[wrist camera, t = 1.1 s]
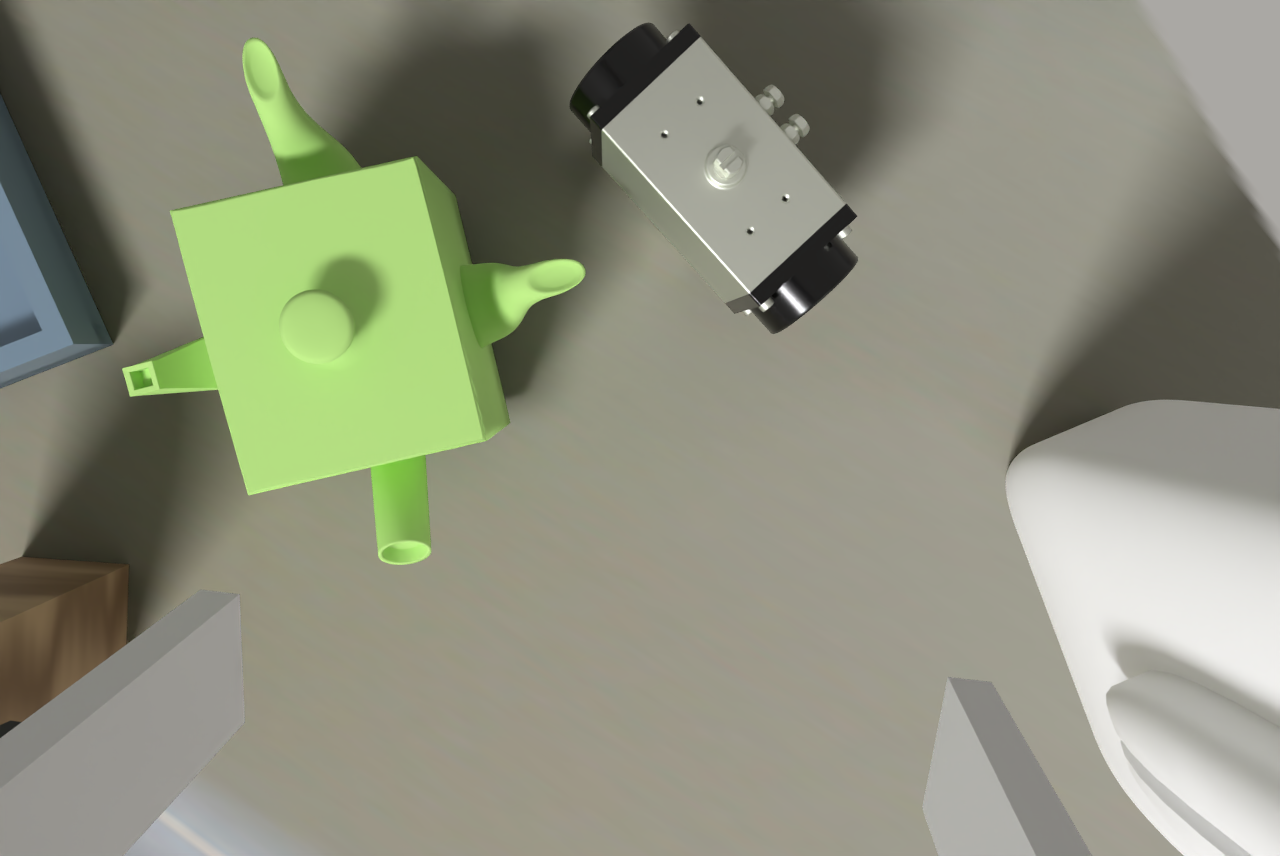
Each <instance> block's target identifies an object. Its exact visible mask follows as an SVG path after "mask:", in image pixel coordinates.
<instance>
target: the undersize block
mask: <svg viewBox="0 0 1280 856" xmlns="http://www.w3.org/2000/svg"><path fill="white" fill-rule="evenodd" d="M128 582H129V564H116V563H102V562H88V561H74V560H60V559H46V558H32V557H20V558H17V559H14V560H11V561H9V562H6V563H3V564H0V725H2V724H4V723H6V722H8V721H10V720H11V721H18V722H23V721H24V720H25V719H27V718H28V717H30V716H31V715H32V714H34V713H35V712H36V711H38V710H39V709H40V708H42V707H43V706H44V705H46V704H47V703H48V702H50V701H51V700H52V699H54V698H55V697H56V696H58V695H59V694H61V693H62V692H63V691H65V690H66V689H67V688H69V687H70V686H71V685H73V684H74V683H75V682H77V681H78V680H79V679H81V678H82V677H83V676H85V675H86V674H87V673H89V672H90V671H92V670H93V669H94V668H96V667H97V666H98V665H100V664H101V663H102V662H104V661H105V660H106V659H108V658H109V657H110V656H112V655H113V654H114V653H116V652H117V651H118V650H120V649H121V648H123V647H124V646H125V645H126V643H127V613H128Z"/></svg>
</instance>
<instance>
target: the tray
mask: <svg viewBox="0 0 1280 856" xmlns="http://www.w3.org/2000/svg"><path fill="white" fill-rule="evenodd" d="M111 345H113V343H112V341H111V338H110V336H109V334H108V332H107V329H106V327H105V325H104V323H103V321H102V318H101V316H100V314H99V312H98V309H97V307H96V305H95V303H94V301H93V298H92V296H91V294H90V292H89V290H88V287H87V285H86V283H85V281H84V278H83V276H82V274H81V272H80V270H79V267H78V265H77V263H76V261H75V258H74V256H73V254H72V252H71V250H70V247H69V245H68V243H67V241H66V238H65V236H64V234H63V232H62V230H61V227H60V225H59V223H58V221H57V218H56V216H55V214H54V212H53V210H52V207H51V205H50V203H49V201H48V198H47V196H46V194H45V192H44V190H43V187H42V185H41V183H40V181H39V178H38V176H37V174H36V172H35V170H34V167H33V165H32V163H31V161H30V158H29V156H28V154H27V152H26V150H25V147H24V145H23V143H22V141H21V138H20V136H19V134H18V132H17V130H16V127H15V125H14V123H13V121H12V118H11V116H10V114H9V112H8V110H7V107H6V105H5V103H4V101H3V98H2V96H1V94H0V388H3V387H5V386H8V385H10V384H13V383H15V382H18V381H21V380H23V379H26V378H28V377H31V376H33V375H36V374H39V373H41V372H44V371H46V370H49V369H51V368H54V367H57V366H59V365H62V364H64V363H67V362H69V361H72V360H75V359H77V358H80V357H82V356H85V355H87V354H90V353H93V352H95V351H98V350H100V349H103V348H105V347H108V346H111Z"/></svg>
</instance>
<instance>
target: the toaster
mask: <svg viewBox="0 0 1280 856" xmlns="http://www.w3.org/2000/svg"><path fill="white" fill-rule="evenodd" d="M1006 495H1007V500H1008V504H1009V508H1010V512H1011V515H1012V518H1013V521H1014V524H1015V527H1016V530H1017V532H1018V535H1019V538H1020V540H1021V543H1022V545H1023V548H1024V551H1025V553H1026V556H1027V559H1028V561H1029V564H1030V567H1031V569H1032V572H1033V575H1034V577H1035V580H1036V583H1037V585H1038V588H1039V591H1040V593H1041V596H1042V599H1043V601H1044V604H1045V607H1046V609H1047V612H1048V615H1049V617H1050V620H1051V622H1052V625H1053V628H1054V630H1055V633H1056V636H1057V638H1058V641H1059V644H1060V646H1061V649H1062V652H1063V654H1064V657H1065V660H1066V662H1067V665H1068V668H1069V670H1070V673H1071V676H1072V678H1073V681H1074V684H1075V686H1076V689H1077V692H1078V694H1079V697H1080V699H1081V702H1082V705H1083V707H1084V710H1085V713H1086V715H1087V718H1088V721H1089V723H1090V726H1091V729H1092V731H1093V734H1094V736H1095V739H1096V741H1097V744H1098V746H1099V748H1100V751H1101V753H1102V755H1103V757H1104V759H1105V761H1106V763H1107V764H1108V766H1109V768H1110V770H1111V771H1112V773H1113V775H1114V776H1115V778H1116V779H1117V781H1118V782H1119V784H1120V785H1121V787H1122V788H1123V789H1124V791H1125V792H1126V793H1127V795H1128V796H1129V797H1130V799H1131V800H1132V801H1133V802H1134V804H1135V805H1136V806H1137V807H1138V808H1139V810H1140V811H1141V812H1142V813H1143V814H1144V815H1145V817H1146V818H1147V819H1148V820H1149V821H1150V822H1151V823H1152V824H1153V825H1154V826H1155V827H1156V828H1157V830H1158V831H1159V832H1160V833H1161V834H1162V835H1163V836H1164V837H1165V838H1166V839H1167V840H1168V841H1169V842H1170V843H1171V844H1172V845H1173V846H1174V847H1175V848H1176V849H1177V850H1178V851H1180V852H1181V853H1182V854H1183V855H1184V856H1280V409H1277V408H1265V407H1254V406H1243V405H1231V404H1220V403H1208V402H1197V401H1185V400H1150V401H1143V402H1138V403H1134V404H1130V405H1127V406H1124V407H1122V408H1119V409H1117V410H1114V411H1112V412H1110V413H1107V414H1105V415H1102V416H1100V417H1098V418H1095V419H1093V420H1091V421H1088V422H1086V423H1083V424H1081V425H1079V426H1076V427H1074V428H1071V429H1069V430H1067V431H1064V432H1062V433H1060V434H1057V435H1055V436H1052V437H1050V438H1048V439H1045V440H1043V441H1040V442H1038V443H1036V444H1033V445H1031V446H1029V447H1027V448H1026V449H1024V450H1023V451H1022V452H1020V453H1019V454H1018V455H1017V456H1016V457H1015V458H1014V460H1013V461H1012V462H1011V464H1010V466H1009V468H1008V470H1007V473H1006Z"/></svg>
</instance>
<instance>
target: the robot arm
mask: <svg viewBox="0 0 1280 856" xmlns="http://www.w3.org/2000/svg"><path fill="white" fill-rule="evenodd" d="M244 723H245V715H244V690H243V666H242V641H241V617H240V594H233V593H225V592H216V591H208V590H199V591H198V592H197V593H195V594H194V595H193V596H191V597H190V598H189V599H187V600H186V601H184V602H183V603H182V604H180V605H179V606H178V607H176V608H175V609H174V610H172V611H171V612H170V613H168V614H167V615H166V616H164V617H163V618H162V619H160V620H159V621H158V622H156V623H155V624H153V625H152V626H151V627H149V628H148V629H147V630H145V631H144V632H143V633H141V634H140V635H139V636H137V637H136V638H135V639H133V640H132V641H131V642H129V643H128V644H127V645H125V646H124V647H123V648H121V649H120V650H118V651H117V652H116V653H114V654H113V655H112V656H110V657H109V658H108V659H106V660H105V661H104V662H102V663H101V664H100V665H98V666H97V667H96V668H94V669H93V670H92V671H90V672H89V673H87V674H86V675H85V676H83V677H82V678H81V679H79V680H78V681H77V682H75V683H74V684H73V685H71V686H70V687H69V688H67V689H66V690H65V691H63V692H62V693H61V694H59V695H58V696H56V697H55V698H54V699H52V700H51V701H50V702H48V703H47V704H46V705H44V706H43V707H42V708H40V709H39V710H38V711H36V712H35V713H34V714H32V715H31V716H30V717H28V718H27V719H25V720H24V721H23V722H18V721H11V720H10V721H8V722H6V723H4V724H2V725H0V856H123V855H124V854H125V853H126V852H127V851H128V850H129V849H130V848H131V847H132V845H133V844H134V843H135V842H136V841H137V840H138V839H139V838H140V837H141V836H142V835H143V833H144V832H145V831H146V830H147V829H148V828H149V827H150V826H151V825H152V824H153V823H154V821H155V820H156V819H157V818H158V817H159V816H160V815H161V814H162V813H163V812H164V810H165V809H166V808H167V807H168V806H169V805H170V804H171V803H172V802H173V801H174V800H175V798H176V797H177V796H178V795H179V794H180V793H181V792H182V791H183V790H184V789H185V787H186V786H187V785H188V784H189V783H190V782H191V781H192V780H193V779H194V778H195V777H196V775H197V774H198V773H199V772H200V771H201V770H202V769H203V768H204V767H205V766H206V765H207V763H208V762H209V761H210V760H211V759H212V758H213V757H214V756H215V755H216V754H217V752H218V751H219V750H220V749H221V748H222V747H223V746H224V745H225V744H226V743H227V742H228V740H229V739H230V738H231V737H232V736H233V735H234V734H235V733H236V732H237V731H238V729H239V728H240V727H241V726H242V725H243V724H244ZM922 809H923V812H924V815H925V818H926V820H927V823H928V826H929V829H930V832H931V835H932V838H933V841H934V844H935V847H936V850H937V852H938V855H939V856H1092V854H1091V853H1090V851H1089V849H1088V848H1087V846H1086V844H1085V842H1084V841H1083V839H1082V837H1081V835H1080V834H1079V832H1078V830H1077V829H1076V827H1075V825H1074V823H1073V822H1072V820H1071V818H1070V816H1069V815H1068V813H1067V811H1066V810H1065V808H1064V806H1063V804H1062V803H1061V801H1060V799H1059V798H1058V796H1057V794H1056V792H1055V791H1054V789H1053V787H1052V785H1051V784H1050V782H1049V780H1048V779H1047V777H1046V775H1045V773H1044V772H1043V770H1042V768H1041V767H1040V765H1039V763H1038V761H1037V760H1036V758H1035V756H1034V754H1033V753H1032V751H1031V749H1030V748H1029V746H1028V744H1027V742H1026V741H1025V739H1024V737H1023V735H1022V734H1021V732H1020V730H1019V729H1018V727H1017V725H1016V723H1015V722H1014V720H1013V718H1012V717H1011V715H1010V713H1009V711H1008V710H1007V708H1006V706H1005V704H1004V703H1003V701H1002V699H1001V698H1000V696H999V694H998V692H997V691H996V689H995V687H994V685H993V684H992V682H987V681H978V680H970V679H961V678H952V677H948V679H947V684H946V689H945V694H944V699H943V705H942V710H941V715H940V720H939V725H938V730H937V735H936V741H935V746H934V751H933V756H932V761H931V766H930V771H929V776H928V782H927V787H926V792H925V797H924V802H923V807H922Z"/></svg>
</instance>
